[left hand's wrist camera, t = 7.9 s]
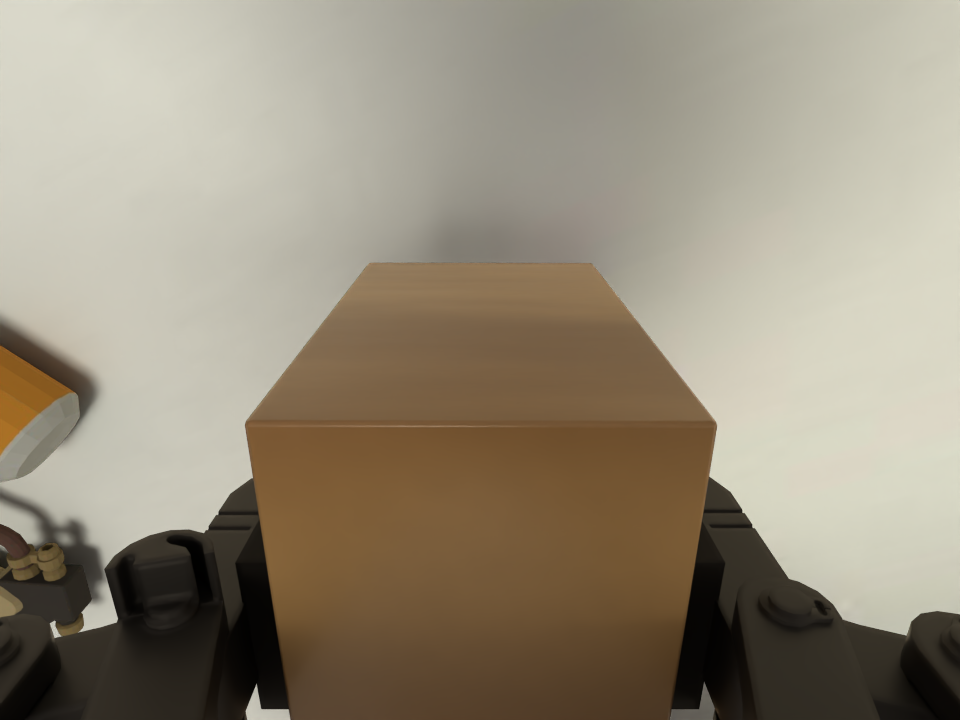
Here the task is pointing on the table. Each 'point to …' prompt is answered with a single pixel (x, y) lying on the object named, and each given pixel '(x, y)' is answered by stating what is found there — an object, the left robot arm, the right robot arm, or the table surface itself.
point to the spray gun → (15, 453)
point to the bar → (480, 500)
